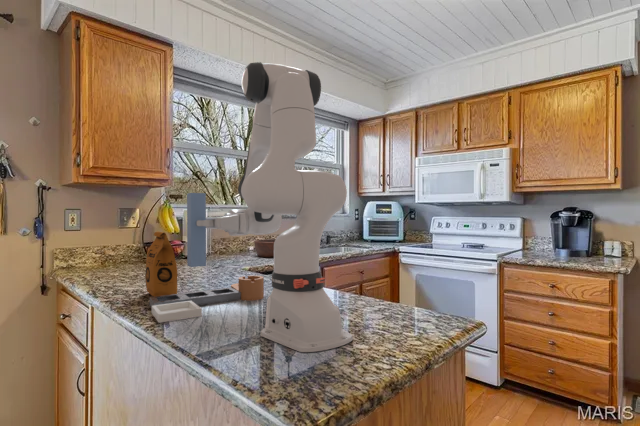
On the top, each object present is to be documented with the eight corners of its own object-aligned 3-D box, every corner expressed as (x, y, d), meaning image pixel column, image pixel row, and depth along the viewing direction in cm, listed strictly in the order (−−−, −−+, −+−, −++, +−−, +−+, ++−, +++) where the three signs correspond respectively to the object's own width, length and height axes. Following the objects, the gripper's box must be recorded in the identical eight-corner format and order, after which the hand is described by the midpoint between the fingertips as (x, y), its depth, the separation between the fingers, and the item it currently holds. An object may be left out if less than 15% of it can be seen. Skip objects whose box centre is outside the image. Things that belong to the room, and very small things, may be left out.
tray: (201, 316, 100) (201, 308, 100) (158, 322, 94) (158, 314, 94) (191, 307, 109) (191, 300, 109) (151, 313, 103) (151, 305, 103)
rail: (240, 299, 119) (240, 292, 119) (154, 311, 105) (154, 303, 105) (230, 294, 127) (230, 287, 127) (149, 305, 112) (149, 297, 112)
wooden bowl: (279, 253, 259) (279, 238, 259) (299, 256, 239) (299, 240, 239) (247, 255, 244) (247, 240, 244) (266, 259, 224) (266, 242, 224)
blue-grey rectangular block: (206, 265, 115) (205, 193, 115) (191, 267, 112) (190, 192, 112) (201, 264, 119) (201, 194, 119) (187, 265, 116) (187, 193, 116)
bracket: (267, 299, 121) (267, 278, 121) (242, 302, 117) (242, 280, 117) (250, 289, 137) (250, 270, 136) (228, 291, 133) (228, 272, 133)
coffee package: (148, 300, 119) (148, 232, 119) (143, 293, 129) (144, 231, 129) (180, 296, 124) (180, 232, 124) (173, 289, 135) (173, 230, 135)
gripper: (225, 213, 131) (185, 213, 124) (247, 212, 114) (202, 212, 107) (225, 230, 131) (185, 232, 124) (247, 232, 114) (202, 234, 107)
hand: (193, 223), depth 115 cm, fingers closed on blue-grey rectangular block, 5 cm apart
